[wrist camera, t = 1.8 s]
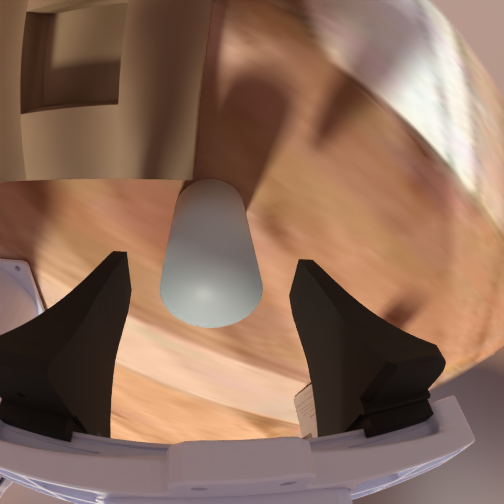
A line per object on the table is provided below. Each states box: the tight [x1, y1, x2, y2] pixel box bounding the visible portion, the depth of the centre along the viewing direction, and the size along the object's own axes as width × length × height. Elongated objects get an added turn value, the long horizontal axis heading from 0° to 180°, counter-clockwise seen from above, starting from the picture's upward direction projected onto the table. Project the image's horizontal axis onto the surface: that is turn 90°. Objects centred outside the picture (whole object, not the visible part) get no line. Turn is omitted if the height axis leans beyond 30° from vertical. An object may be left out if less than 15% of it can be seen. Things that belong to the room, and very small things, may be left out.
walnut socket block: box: [0, 0, 214, 182], centre depth 10 cm, size 12×12×3 cm
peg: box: [160, 179, 263, 328], centre depth 15 cm, size 4×4×7 cm
